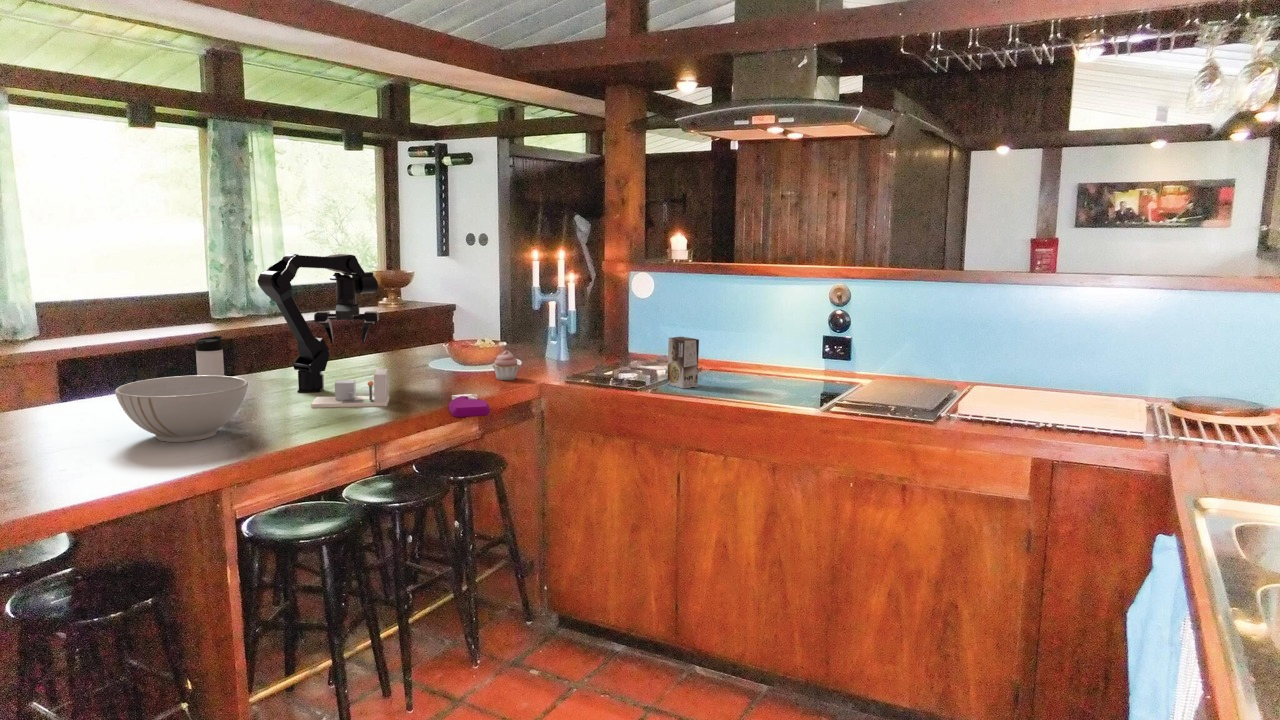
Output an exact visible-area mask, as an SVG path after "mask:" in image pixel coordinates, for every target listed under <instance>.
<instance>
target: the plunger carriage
mask: <svg viewBox="0 0 1280 720" xmlns="http://www.w3.org/2000/svg"><path fill="white" fill-rule="evenodd" d="M356 383H357V382H356V379H337V380H336V381H335V383H334V397H335V400H354V399H355V397H356V396H357V387H356V386H357V384H356Z"/></svg>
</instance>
